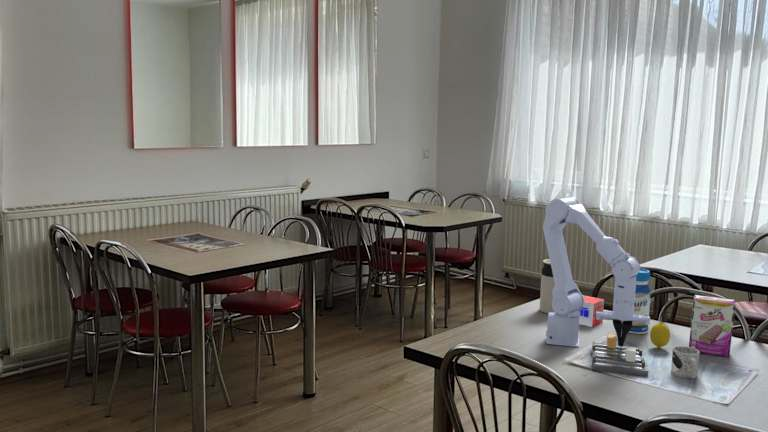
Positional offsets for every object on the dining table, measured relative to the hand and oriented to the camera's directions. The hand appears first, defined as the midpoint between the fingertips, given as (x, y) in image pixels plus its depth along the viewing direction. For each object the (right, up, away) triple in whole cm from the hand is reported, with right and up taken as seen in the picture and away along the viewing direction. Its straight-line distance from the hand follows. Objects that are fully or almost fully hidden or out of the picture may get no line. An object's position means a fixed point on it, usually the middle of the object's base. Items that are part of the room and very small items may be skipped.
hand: (620, 345), depth 204 cm
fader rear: (-3, -1, +1) cm, 3 cm away
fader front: (-1, -3, -10) cm, 10 cm away
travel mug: (-9, +4, +45) cm, 46 cm away
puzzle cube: (0, +2, +33) cm, 34 cm away
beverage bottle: (+13, 0, +25) cm, 28 cm away
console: (-2, -4, -4) cm, 6 cm away
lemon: (+14, -2, +8) cm, 16 cm away
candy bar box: (+28, -3, +5) cm, 28 cm away
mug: (+13, -6, -14) cm, 20 cm away
